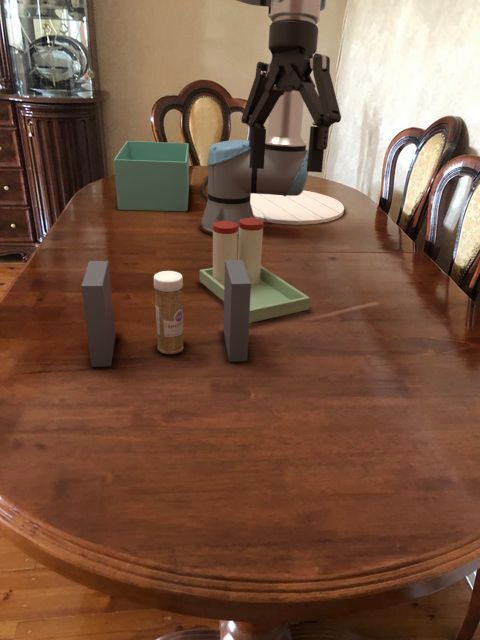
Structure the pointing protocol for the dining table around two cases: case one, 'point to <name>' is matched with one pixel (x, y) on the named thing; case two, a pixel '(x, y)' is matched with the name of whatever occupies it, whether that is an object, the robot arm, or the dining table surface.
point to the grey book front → (99, 313)
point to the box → (152, 176)
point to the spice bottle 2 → (251, 247)
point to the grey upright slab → (236, 310)
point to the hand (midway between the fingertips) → (283, 170)
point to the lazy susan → (296, 208)
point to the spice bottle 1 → (223, 247)
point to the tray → (264, 295)
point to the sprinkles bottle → (169, 311)
